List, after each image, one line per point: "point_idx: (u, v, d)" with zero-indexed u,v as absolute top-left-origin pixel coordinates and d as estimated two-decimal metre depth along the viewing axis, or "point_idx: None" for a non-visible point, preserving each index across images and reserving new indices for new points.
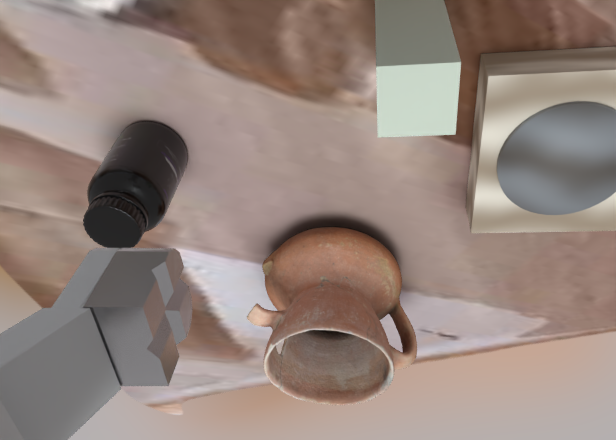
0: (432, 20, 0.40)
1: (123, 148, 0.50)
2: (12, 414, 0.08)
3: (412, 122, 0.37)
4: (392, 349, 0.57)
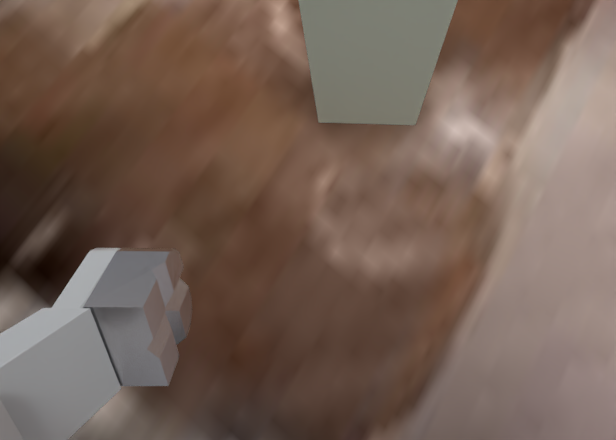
0: None
1: None
2: (12, 414, 0.08)
3: None
4: None
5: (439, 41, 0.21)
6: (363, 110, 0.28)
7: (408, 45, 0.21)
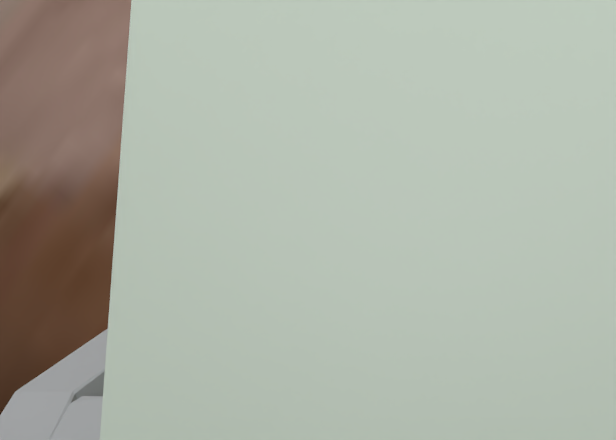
0: None
1: None
2: None
3: None
4: None
5: None
6: None
7: None
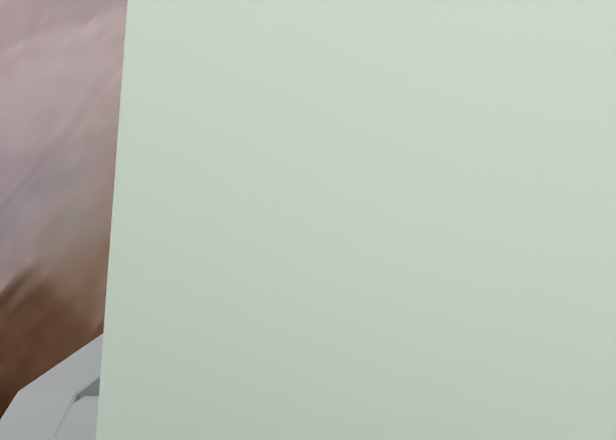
0: None
1: None
2: None
3: None
4: None
5: None
6: None
7: None
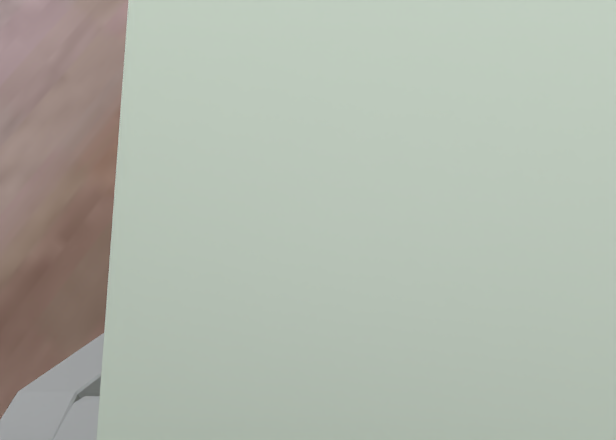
0: None
1: None
2: None
3: None
4: None
5: None
6: None
7: None
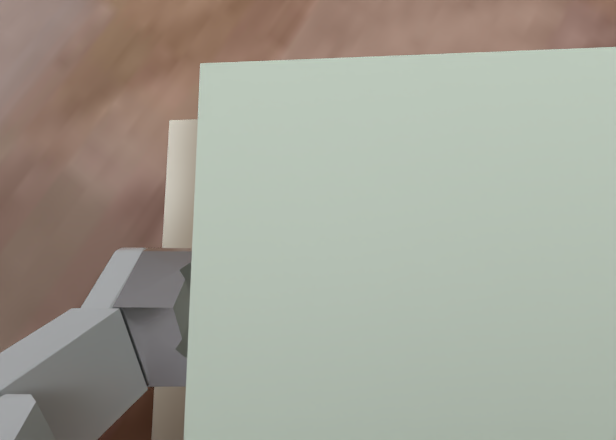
0: None
1: None
2: (43, 415, 0.08)
3: None
4: None
5: None
6: None
7: None
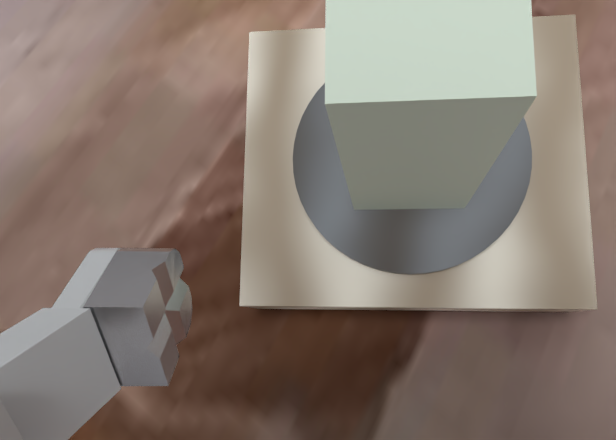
0: None
1: None
2: (12, 414, 0.08)
3: (487, 11, 0.14)
4: None
5: (500, 145, 0.17)
6: (405, 199, 0.25)
7: (461, 149, 0.18)
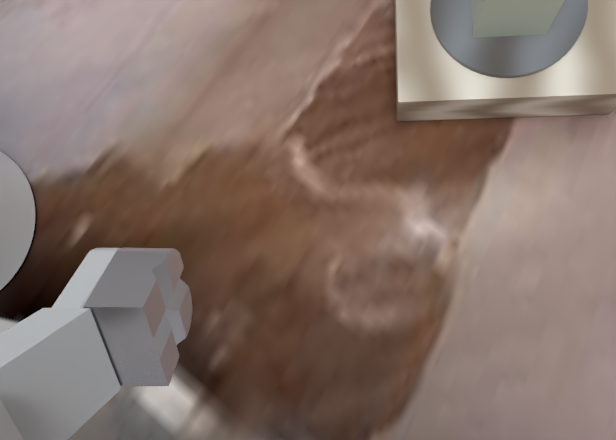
0: None
1: None
2: (12, 414, 0.08)
3: None
4: None
5: None
6: (512, 21, 0.40)
7: None
